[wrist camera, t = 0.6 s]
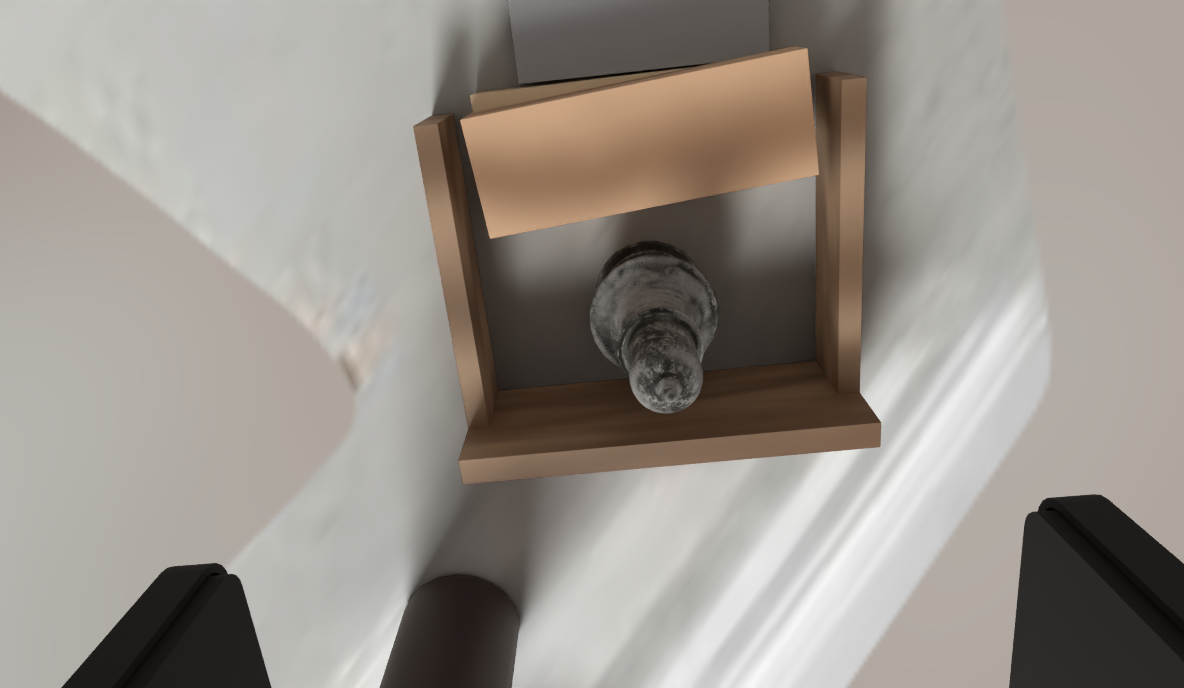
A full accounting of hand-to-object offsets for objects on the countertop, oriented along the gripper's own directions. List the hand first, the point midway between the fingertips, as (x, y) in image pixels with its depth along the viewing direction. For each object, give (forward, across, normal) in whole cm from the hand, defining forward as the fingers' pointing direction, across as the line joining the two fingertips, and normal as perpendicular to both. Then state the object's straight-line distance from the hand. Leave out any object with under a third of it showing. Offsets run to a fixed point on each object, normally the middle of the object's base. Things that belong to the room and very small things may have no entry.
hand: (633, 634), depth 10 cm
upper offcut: (+28, -2, -3) cm, 28 cm away
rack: (+30, -2, +3) cm, 30 cm away
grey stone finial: (+31, -2, +4) cm, 31 cm away
